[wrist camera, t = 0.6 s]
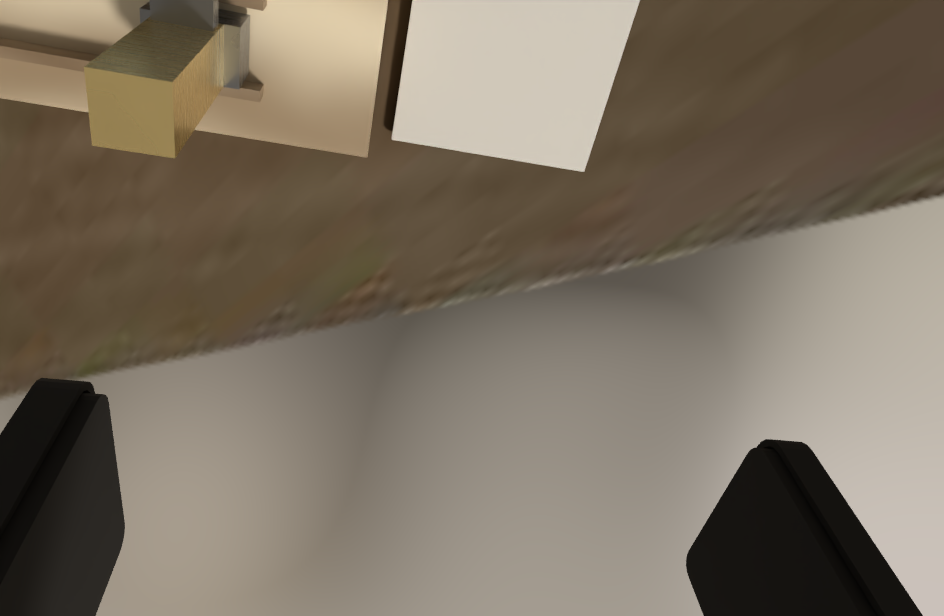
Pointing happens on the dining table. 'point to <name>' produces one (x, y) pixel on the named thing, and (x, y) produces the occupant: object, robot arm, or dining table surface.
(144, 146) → the latch
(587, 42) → the mat
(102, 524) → the robot arm
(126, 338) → the dining table surface
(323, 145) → the tan box base
